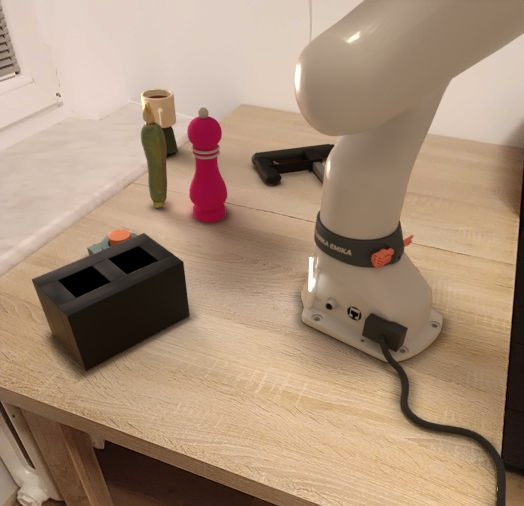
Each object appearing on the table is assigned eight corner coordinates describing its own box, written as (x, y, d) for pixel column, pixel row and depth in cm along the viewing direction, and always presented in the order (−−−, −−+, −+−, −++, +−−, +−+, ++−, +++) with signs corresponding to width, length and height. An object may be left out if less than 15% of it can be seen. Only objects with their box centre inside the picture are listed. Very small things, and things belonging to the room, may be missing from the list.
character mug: (146, 144, 122) (138, 86, 113) (176, 141, 123) (170, 84, 114) (151, 163, 114) (143, 103, 105) (182, 160, 116) (176, 100, 107)
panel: (160, 265, 86) (157, 245, 83) (120, 284, 82) (115, 264, 79) (129, 241, 91) (125, 222, 88) (89, 258, 87) (84, 238, 84)
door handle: (359, 172, 107) (329, 138, 117) (271, 184, 103) (248, 148, 113) (357, 186, 110) (328, 152, 120) (270, 199, 105) (248, 162, 115)
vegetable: (153, 200, 102) (138, 95, 88) (174, 200, 102) (162, 96, 88) (149, 211, 99) (132, 104, 85) (171, 211, 99) (158, 105, 85)
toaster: (189, 316, 76) (183, 261, 69) (86, 371, 68) (67, 316, 61) (153, 286, 82) (143, 232, 75) (52, 334, 73) (31, 279, 66)
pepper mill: (222, 226, 95) (218, 117, 81) (186, 221, 96) (175, 113, 82) (232, 207, 100) (229, 102, 86) (197, 203, 101) (188, 98, 87)
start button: (136, 244, 84) (134, 235, 83) (117, 252, 82) (115, 243, 81) (124, 235, 86) (123, 226, 84) (106, 243, 84) (104, 234, 83)
